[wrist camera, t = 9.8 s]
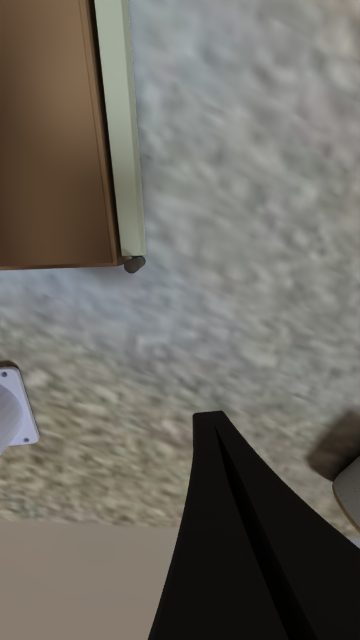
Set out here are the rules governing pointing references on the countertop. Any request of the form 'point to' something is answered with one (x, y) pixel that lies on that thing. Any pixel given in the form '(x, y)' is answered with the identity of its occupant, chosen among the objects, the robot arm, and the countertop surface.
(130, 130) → the door
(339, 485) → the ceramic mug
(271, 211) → the countertop surface
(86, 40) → the cabinet
